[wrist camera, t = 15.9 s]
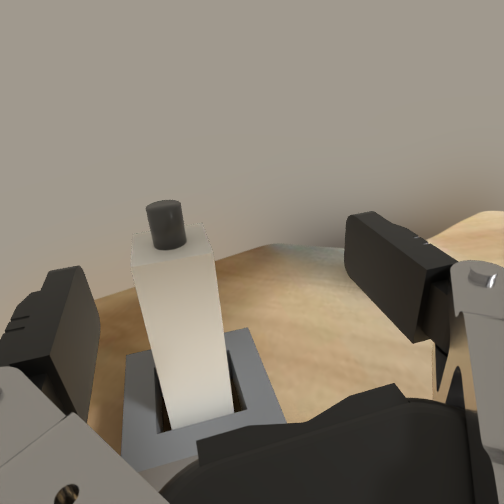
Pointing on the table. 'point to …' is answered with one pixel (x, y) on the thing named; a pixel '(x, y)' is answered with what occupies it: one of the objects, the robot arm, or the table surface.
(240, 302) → the table surface
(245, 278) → the table surface
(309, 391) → the table surface
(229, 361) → the socket
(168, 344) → the plug
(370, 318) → the table surface
